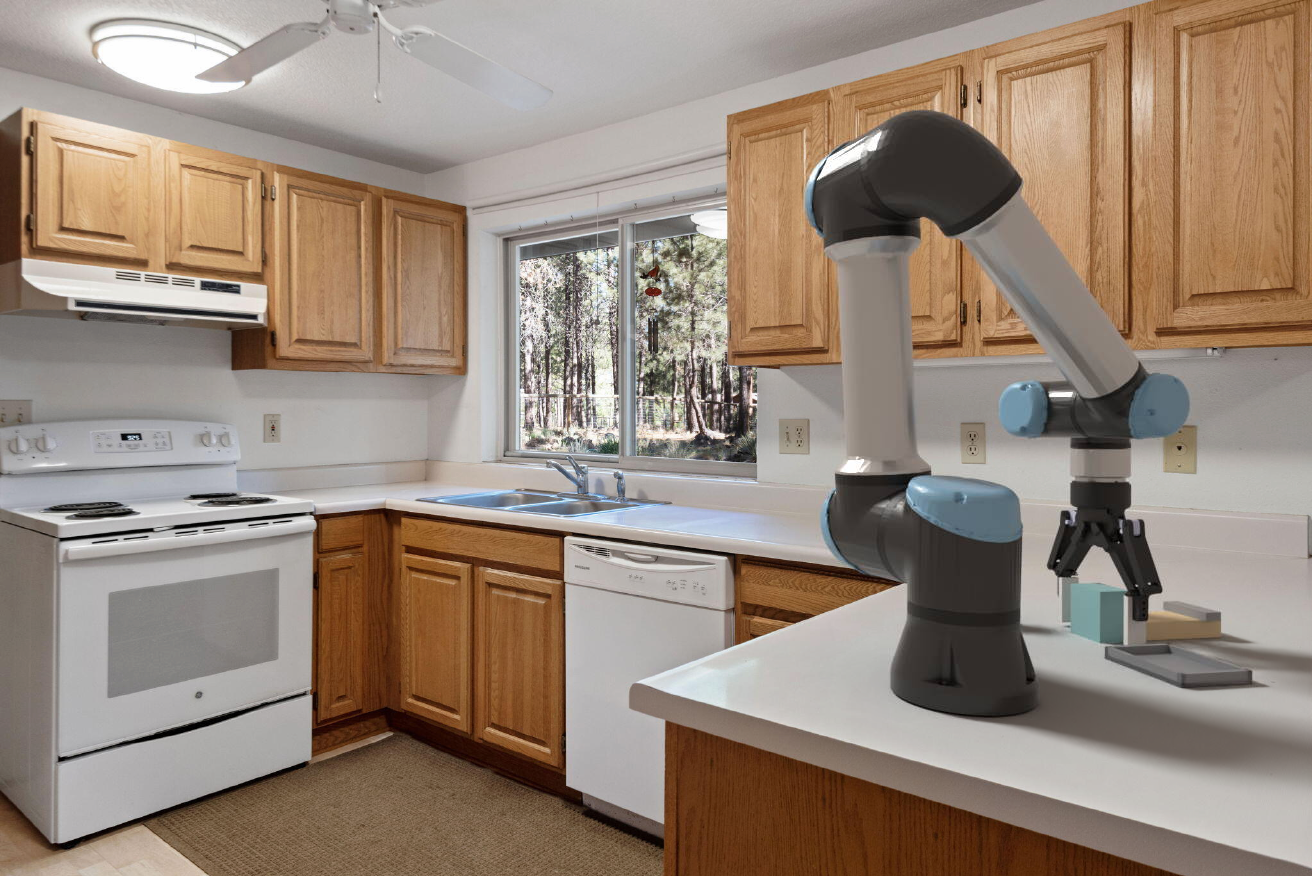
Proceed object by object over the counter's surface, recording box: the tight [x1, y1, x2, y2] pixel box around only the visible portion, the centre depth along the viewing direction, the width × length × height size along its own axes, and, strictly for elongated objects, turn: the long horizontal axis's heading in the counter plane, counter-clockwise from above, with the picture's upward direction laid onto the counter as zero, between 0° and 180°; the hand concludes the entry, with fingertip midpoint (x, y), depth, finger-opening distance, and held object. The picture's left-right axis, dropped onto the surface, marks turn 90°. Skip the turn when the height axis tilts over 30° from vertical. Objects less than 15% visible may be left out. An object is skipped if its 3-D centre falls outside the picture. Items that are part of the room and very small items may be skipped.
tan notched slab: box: [1146, 600, 1222, 642], centre depth 117 cm, size 14×8×4 cm, turn 100°
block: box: [1070, 582, 1128, 644], centre depth 116 cm, size 4×6×7 cm
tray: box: [1104, 642, 1253, 689], centre depth 99 cm, size 9×12×2 cm
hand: (1099, 632), depth 116 cm, fingers open, 12 cm apart
